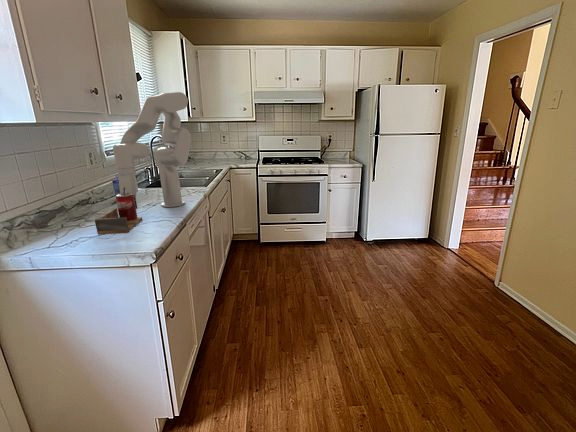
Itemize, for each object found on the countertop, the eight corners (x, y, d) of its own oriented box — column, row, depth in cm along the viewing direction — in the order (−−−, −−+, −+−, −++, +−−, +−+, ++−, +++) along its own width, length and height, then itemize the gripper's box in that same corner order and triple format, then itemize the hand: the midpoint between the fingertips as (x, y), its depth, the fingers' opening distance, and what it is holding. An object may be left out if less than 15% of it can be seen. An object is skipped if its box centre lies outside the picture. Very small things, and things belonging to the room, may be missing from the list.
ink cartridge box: (121, 196, 198) (117, 173, 193) (130, 195, 198) (126, 173, 194) (115, 199, 188) (110, 176, 184) (125, 199, 189) (120, 175, 185)
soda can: (133, 222, 138) (128, 196, 134) (117, 222, 138) (111, 196, 134) (140, 217, 145) (136, 192, 141) (125, 217, 145) (120, 193, 141)
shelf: (116, 221, 145) (113, 208, 143) (142, 219, 146) (140, 206, 144) (97, 234, 128) (94, 219, 126) (127, 232, 129) (125, 218, 127)
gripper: (124, 169, 149) (131, 205, 154) (110, 174, 134) (118, 214, 140) (140, 168, 149) (146, 205, 155) (128, 173, 135) (135, 213, 140)
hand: (133, 209), depth 147 cm, fingers closed
